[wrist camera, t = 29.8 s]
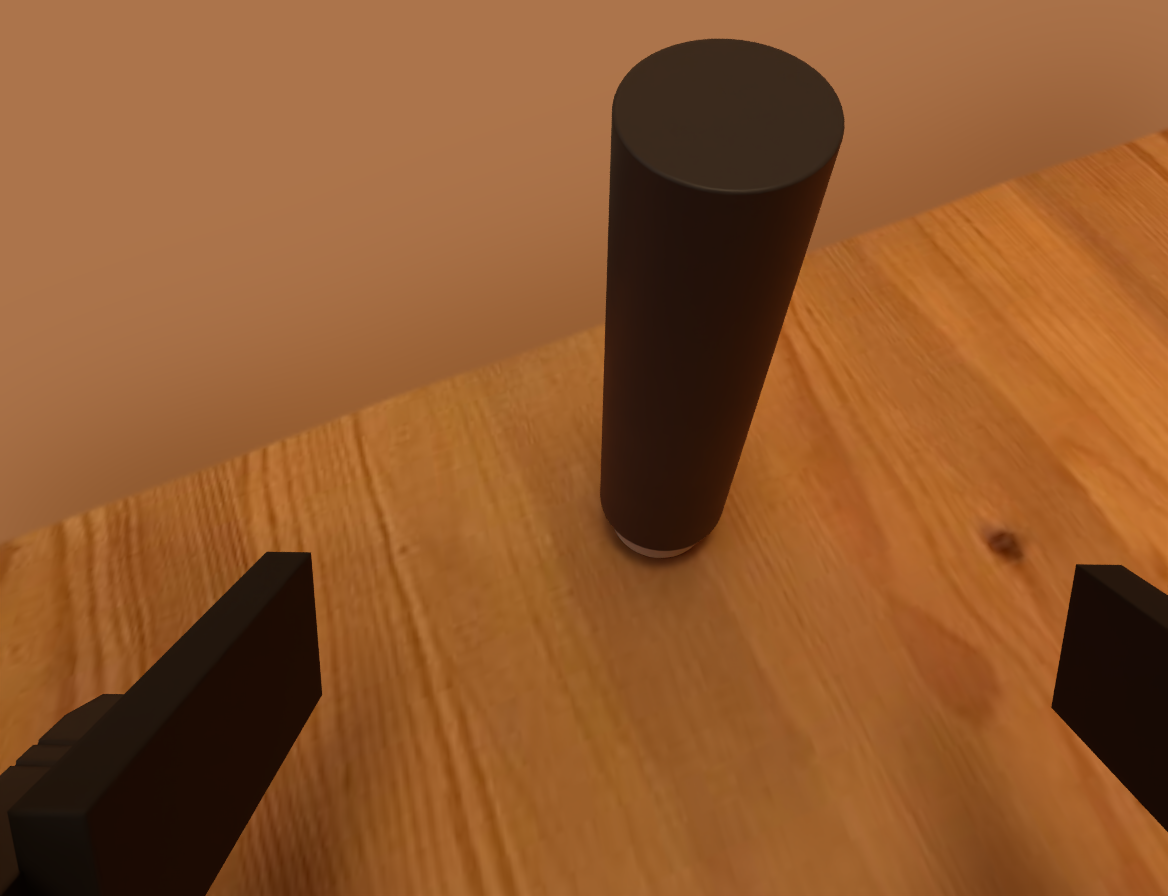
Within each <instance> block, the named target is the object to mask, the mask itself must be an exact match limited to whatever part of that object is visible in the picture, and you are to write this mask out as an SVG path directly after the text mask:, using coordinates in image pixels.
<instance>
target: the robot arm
mask: <svg viewBox="0 0 1168 896" xmlns="http://www.w3.org/2000/svg"><path fill="white" fill-rule="evenodd" d="M321 696H322V686H321V673H320V661H319V648H318V636H317V623H316V610H315V598H314V585H313V572H312V560H311V553H309V552H266V553H265V554H264V555H263V556H262V557H261V558H260V559H259V560H258V561H257V562H256V563H255V564H254V565H253V566H252V567H251V568H250V569H249V570H248V571H247V572H246V573H245V574H244V575H243V576H242V577H241V578H240V579H239V580H238V581H237V582H236V583H235V584H234V585H233V586H232V587H231V588H230V589H229V590H228V591H227V592H226V593H225V594H224V595H223V596H222V597H221V598H220V599H219V600H218V601H217V602H216V603H215V604H214V605H213V606H212V607H211V608H210V609H209V610H208V611H207V612H206V613H205V614H204V615H203V616H202V617H201V618H200V619H199V620H198V621H197V622H196V623H195V624H194V625H193V626H192V627H191V628H190V629H189V630H188V631H187V632H186V633H185V634H184V635H183V636H182V637H181V638H180V639H179V640H178V641H177V642H176V643H175V644H174V645H173V646H172V647H171V648H170V649H169V650H168V651H167V652H166V653H165V654H164V655H163V656H162V657H161V658H160V659H159V660H158V661H157V662H156V663H155V664H154V665H153V666H152V667H151V668H150V669H149V670H148V671H147V672H146V673H145V674H144V675H143V676H142V677H141V678H140V679H139V680H138V681H137V682H136V683H135V684H134V685H133V686H132V687H131V688H130V689H129V690H128V691H127V692H126V693H125V694H102V695H101V696H99V697H97V698H95V699H93V700H92V701H90V702H88V703H86V704H84V705H83V706H81V707H79V708H77V709H75V710H74V711H72V712H70V713H68V714H66V715H65V716H64V717H63V718H62V719H61V720H60V721H58V722H57V723H56V724H55V725H54V726H53V727H52V728H51V729H50V730H49V731H48V732H47V733H46V734H44V735H43V736H42V737H41V738H40V739H39V742H38V745H33V746H32V747H30V748H29V749H28V750H27V751H26V752H25V753H24V754H23V755H22V756H21V757H20V758H19V759H18V760H16V765H15V766H10V767H9V768H8V769H7V770H6V771H5V772H4V773H2V774H1V775H0V896H205V895H206V893H207V892H208V890H209V888H210V887H211V885H212V883H213V881H214V880H215V878H216V876H217V875H218V873H219V871H220V869H221V868H222V866H223V864H224V863H225V861H226V859H227V857H228V856H229V854H230V852H231V850H232V849H233V847H234V845H235V844H236V842H237V840H238V838H239V837H240V835H241V833H242V832H243V830H244V828H245V826H246V825H247V823H248V821H249V820H250V818H251V816H252V814H253V813H254V811H255V809H256V807H257V806H258V804H259V802H260V801H261V799H262V797H263V795H264V794H265V792H266V790H267V789H268V787H269V785H270V783H271V782H272V780H273V778H274V777H275V775H276V773H277V771H278V770H279V768H280V766H281V764H282V763H283V761H284V759H285V758H286V756H287V754H288V752H289V751H290V749H291V747H292V746H293V744H294V742H295V740H296V739H297V737H298V735H299V734H300V732H301V730H302V728H303V727H304V725H305V723H306V722H307V720H308V718H309V716H310V715H311V713H312V711H313V709H314V708H315V706H316V704H317V703H318V701H319V699H320V697H321ZM1051 708H1052V709H1053V710H1054V711H1055V712H1056V713H1057V714H1058V715H1059V716H1060V717H1061V718H1062V719H1063V720H1064V721H1065V723H1066V724H1067V725H1068V726H1069V727H1070V728H1071V729H1072V730H1073V731H1074V732H1075V733H1076V734H1077V735H1078V736H1079V738H1080V739H1081V740H1082V741H1083V742H1084V743H1085V744H1086V745H1087V746H1088V747H1089V748H1090V749H1091V750H1092V751H1093V753H1094V754H1095V755H1096V756H1097V757H1098V758H1099V759H1100V760H1101V761H1102V762H1103V763H1104V764H1105V765H1106V766H1107V768H1108V769H1109V770H1110V771H1111V772H1112V773H1113V774H1114V775H1115V776H1116V777H1117V778H1118V779H1119V780H1120V781H1121V783H1122V784H1123V785H1124V786H1125V787H1126V788H1127V789H1128V790H1129V791H1130V792H1131V793H1132V794H1133V795H1134V796H1135V798H1136V799H1137V800H1138V801H1139V802H1140V803H1141V804H1142V805H1143V806H1144V807H1145V808H1146V809H1147V810H1148V811H1149V813H1150V814H1151V815H1152V816H1153V817H1154V818H1155V819H1156V820H1157V821H1158V822H1159V823H1160V824H1161V825H1162V826H1163V827H1164V829H1165V830H1166V831H1167V832H1168V595H1166V594H1165V593H1163V592H1162V591H1160V590H1159V589H1157V588H1156V587H1154V586H1153V585H1151V584H1149V583H1148V582H1146V581H1145V580H1143V579H1142V578H1140V577H1139V576H1137V575H1136V574H1134V573H1133V572H1131V571H1130V570H1128V569H1127V568H1125V567H1124V566H1122V565H1082V564H1076V569H1075V575H1074V580H1073V586H1072V592H1071V597H1070V603H1069V609H1068V615H1067V620H1066V626H1065V632H1064V638H1063V643H1062V649H1061V655H1060V661H1059V666H1058V672H1057V678H1056V684H1055V689H1054V695H1053V701H1052V707H1051Z"/></svg>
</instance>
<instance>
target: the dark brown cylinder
mask: <svg viewBox="0 0 1168 896" xmlns="http://www.w3.org/2000/svg"><path fill="white" fill-rule="evenodd" d="M611 131H612V132H611V162H610V163H611V164H610V195H609V227H608V259H607V292H606V323H605V356H604V388H603V420H602V452H601V484H600V498H601V504H602V508H603V511H604V513H605V516H606V518H607V519H608V521H609V523H610V524H611V525H612V527H613V528H614V529H615V532H616V533H617V535H618V537H619V538H620V539H621V540H622V542H623V543H625V544H626V545H627V546H628V547H629V548H631V549H632V550H634V551H636V552H637V553H640V554H642V555H645V556H649V557H655V558H667V557H673V556H676V555H679V554H682V553H684V552H686V551H687V550H689V549H690V548H692V547H693V546H694V545H695V544H696V543H698V542H699V541H701V540H702V539H704V538H705V537H706V536H707V535H708V534H709V533H710V532H711V531H712V530H713V529H714V527H715V526H716V524H717V523H718V521H719V519H720V517H721V514H722V511H723V508H724V505H725V502H726V499H727V496H728V493H729V489H730V486H731V483H732V480H733V477H734V474H735V471H736V468H737V465H738V462H739V458H740V455H741V452H742V449H743V446H744V443H745V440H746V437H747V434H748V431H749V427H750V424H751V421H752V418H753V415H754V412H755V409H756V406H757V403H758V400H759V396H760V393H761V390H762V387H763V384H764V381H765V378H766V375H767V372H768V369H769V365H770V362H771V359H772V356H773V353H774V350H775V347H776V344H777V341H778V337H779V334H780V331H781V328H782V325H783V322H784V319H785V316H786V313H787V310H788V306H789V303H790V300H791V297H792V294H793V291H794V288H795V285H796V282H797V279H798V275H799V272H800V269H801V266H802V263H803V260H804V257H805V254H806V251H807V247H808V244H809V241H810V238H811V235H812V232H813V229H814V226H815V223H816V220H817V216H818V213H819V210H820V207H821V204H822V201H823V198H824V195H825V192H826V189H827V185H828V182H829V179H830V176H831V173H832V170H833V167H834V164H835V161H836V158H837V155H838V151H839V148H840V145H841V142H842V139H843V134H844V115H843V110H842V106H841V103H840V101H839V98H838V96H837V94H836V93H835V91H834V89H833V88H832V86H830V84H829V83H828V82H827V81H826V79H825V78H824V77H823V76H822V75H821V74H820V73H818V72H817V71H816V70H815V69H814V68H812V67H811V66H809V65H808V64H807V63H805V62H804V61H802V60H800V59H798V58H797V57H795V56H793V55H791V54H789V53H786V52H784V51H782V50H779V49H776V48H773V47H770V46H767V45H763V44H759V43H755V42H750V41H743V40H735V39H705V40H696V41H690V42H685V43H681V44H677V45H673V46H670V47H667V48H665V49H662V50H660V51H658V52H656V53H654V54H651V55H650V56H648V57H647V58H645V59H643V60H642V61H640V62H639V63H638V64H637V65H636V66H634V67H633V68H632V69H631V70H630V71H629V72H628V74H627V75H626V76H625V77H624V79H623V80H622V82H621V83H620V85H619V87H618V89H617V91H616V94H615V96H614V100H613V106H612V130H611Z"/></svg>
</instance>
